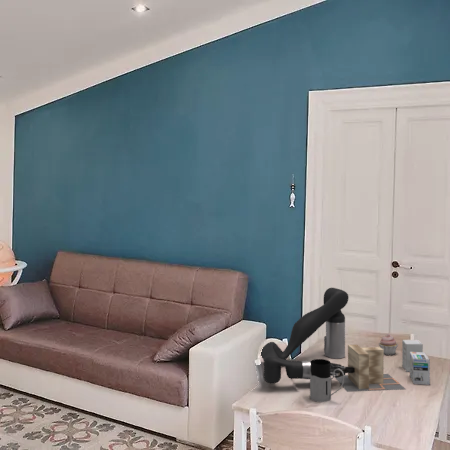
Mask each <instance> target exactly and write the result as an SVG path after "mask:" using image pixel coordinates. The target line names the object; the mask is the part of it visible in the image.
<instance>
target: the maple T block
mask: <svg viewBox="0 0 450 450" xmlns="http://www.w3.org/2000/svg"><path fill="white" fill-rule="evenodd" d="M347 367H354V373H347V375H348V378H349V379H350V380H351V381H352V382H353V383H354V384H355V385H356V386H357V387H358V388H359V389H369V384H382V383H383V377H384V374H385V373H384V369H385V368H384V350H383V349H382V348H380V346H375V347H368V346H367V347H361V346H360V345H359V344H347Z"/></svg>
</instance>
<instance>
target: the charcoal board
mask: <svg viewBox="0 0 450 450" xmlns="http://www.w3.org/2000/svg"><path fill="white" fill-rule="evenodd" d="M334 378H335V379H336V381H337V382H338V383H339V384H340V386H341V385H342V382H343V376H341V377H338V378H336V377H335V375H334ZM341 388H343V389H344V390H345V391H346V392H347V393H350V392H375V391H379V392H380V391H399V390H400V391H401V390H402V391H403V390H406V388H405V387H404V386H403V385H402V384H401V383H400V382H399V381H397V380H396V379H395V378H393V376H391V375H390V374H389V373H384V377H383V383H382V384H369V389H359V388H358V387H357V386H356V385H355V384H354V383H353V382H352V381H351V380H350V379H349V378H348V374H347V375H346V374H345V375H344V383H343V386H342V387H341Z"/></svg>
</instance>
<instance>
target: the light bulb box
mask: <svg viewBox="0 0 450 450" xmlns="http://www.w3.org/2000/svg"><path fill="white" fill-rule="evenodd" d="M430 360H431V359H430V358H429V356H428V354H427V353H426V352H424V351H423V352H410V372H409V376H410V378H411V380H412V381H411V382H412V383H413V385H427V386H428V385H430V384H431V383H430V382H431V379H430V378H431V377H430V375H431V373H430V369H431V367H430V365H431V363H430V362H431V361H430Z"/></svg>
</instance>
